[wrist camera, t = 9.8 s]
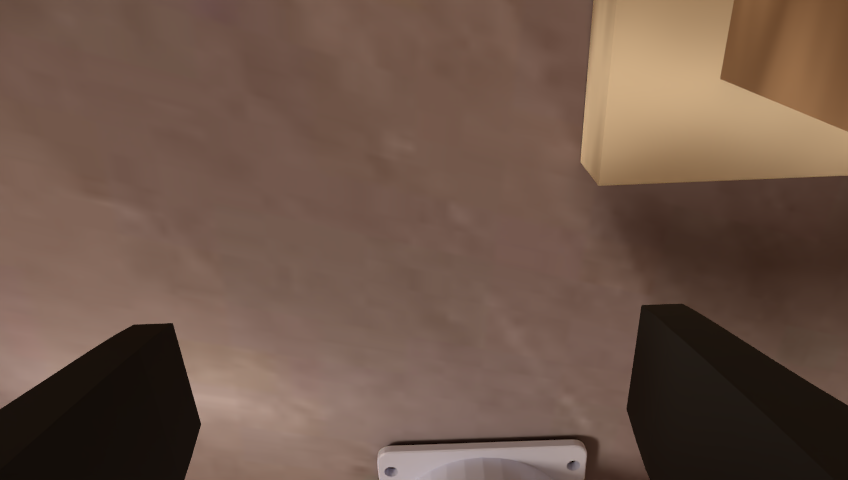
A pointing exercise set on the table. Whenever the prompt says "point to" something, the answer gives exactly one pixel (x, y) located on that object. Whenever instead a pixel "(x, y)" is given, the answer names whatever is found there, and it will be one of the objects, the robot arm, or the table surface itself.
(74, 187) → the table surface
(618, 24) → the birch base
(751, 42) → the walnut block
